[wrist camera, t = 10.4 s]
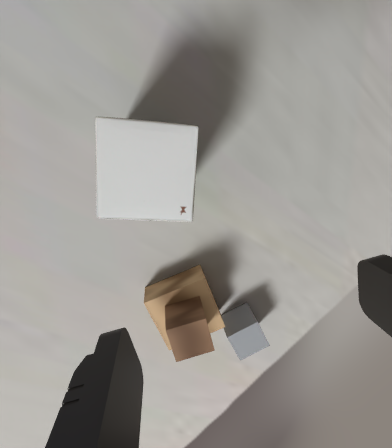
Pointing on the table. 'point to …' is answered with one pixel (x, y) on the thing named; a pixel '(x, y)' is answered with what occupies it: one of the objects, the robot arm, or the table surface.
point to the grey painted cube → (244, 331)
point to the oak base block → (182, 298)
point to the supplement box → (145, 169)
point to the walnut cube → (187, 329)
